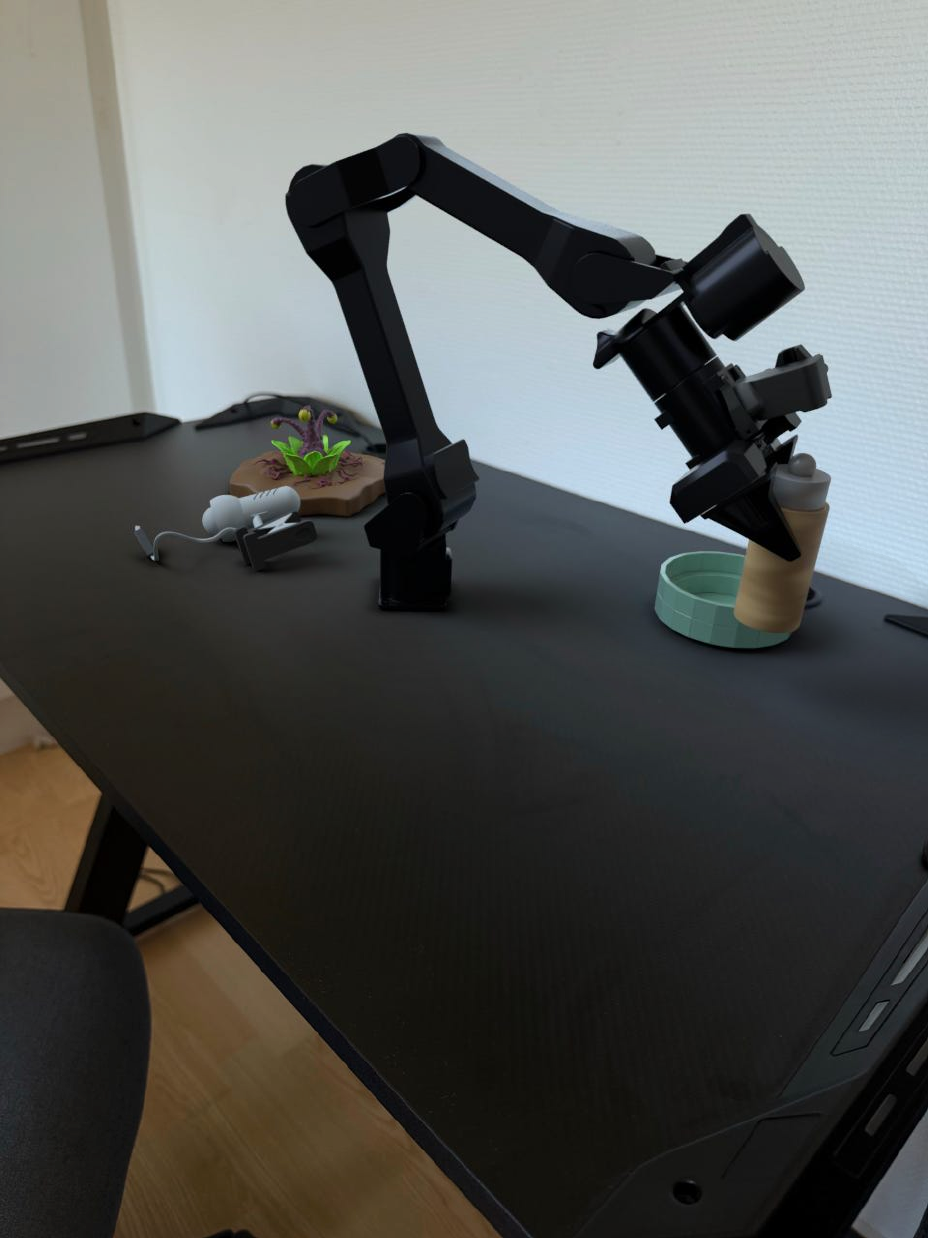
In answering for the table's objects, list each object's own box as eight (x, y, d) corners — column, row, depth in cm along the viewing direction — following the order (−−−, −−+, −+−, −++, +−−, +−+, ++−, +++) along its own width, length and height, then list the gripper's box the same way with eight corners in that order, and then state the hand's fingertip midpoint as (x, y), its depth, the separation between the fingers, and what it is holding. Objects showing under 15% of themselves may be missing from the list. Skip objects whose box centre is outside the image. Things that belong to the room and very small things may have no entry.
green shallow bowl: (673, 652, 80) (681, 607, 78) (640, 590, 92) (646, 549, 90) (813, 654, 81) (825, 610, 79) (764, 592, 93) (772, 552, 91)
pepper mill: (747, 633, 70) (786, 463, 63) (723, 603, 74) (757, 442, 68) (811, 633, 70) (855, 465, 64) (783, 603, 75) (822, 443, 68)
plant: (206, 507, 108) (197, 414, 102) (264, 460, 125) (259, 379, 120) (367, 524, 105) (367, 430, 100) (404, 473, 122) (405, 391, 117)
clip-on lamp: (151, 606, 90) (323, 555, 94) (129, 554, 86) (309, 502, 90) (145, 552, 99) (302, 507, 103) (125, 502, 96) (288, 457, 99)
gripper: (750, 327, 56) (892, 531, 56) (799, 297, 70) (911, 459, 71) (613, 429, 62) (742, 611, 63) (685, 382, 77) (788, 529, 78)
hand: (802, 546), depth 69 cm, fingers closed on pepper mill, 5 cm apart
